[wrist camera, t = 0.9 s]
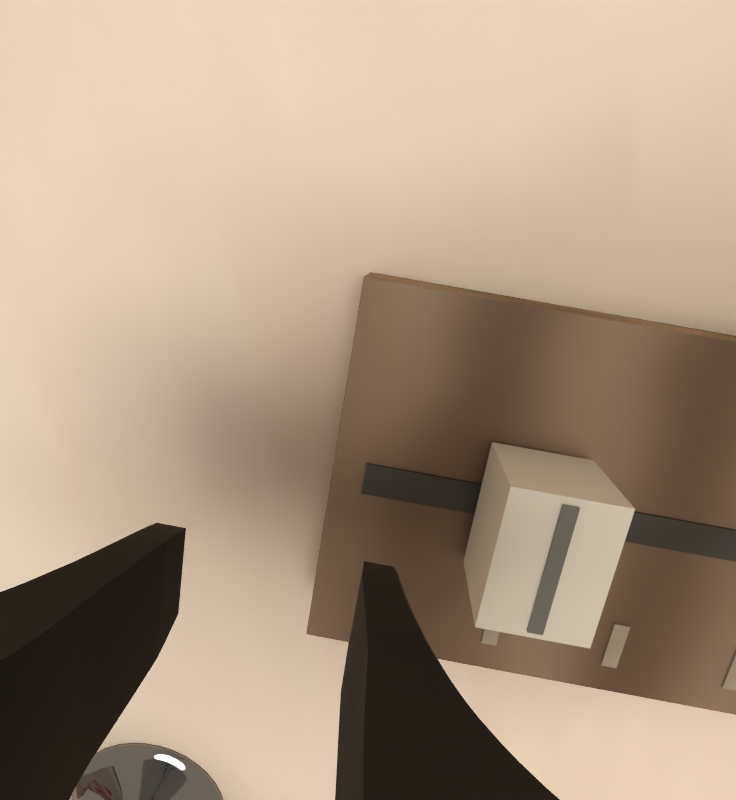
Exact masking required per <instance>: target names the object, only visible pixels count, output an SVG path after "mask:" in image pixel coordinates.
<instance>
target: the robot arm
mask: <svg viewBox="0 0 736 800" xmlns="http://www.w3.org/2000/svg"><path fill="white" fill-rule="evenodd" d="M185 531H186V528H182V527H176V526H171V525H165V524H160V523H155V524H153V525H150V526H148V527H146V528H144V529H141V530H139V531H137V532H135V533H133V534H131V535H129V536H127V537H125V538H123V539H121V540H119V541H117V542H115V543H113V544H110V545H108V546H106V547H104V548H102V549H100V550H98V551H96V552H94V553H92V554H90V555H87V556H85V557H83V558H81V559H79V560H77V561H75V562H73V563H70V564H68V565H66V566H63V567H61V568H59V569H56V570H54V571H52V572H49V573H47V574H45V575H42V576H40V577H38V578H35V579H33V580H31V581H28V582H26V583H23V584H21V585H18V586H16V587H13V588H10V589H8V590H5V591H2V592H0V800H69V798H70V797H71V795H72V793H73V791H74V789H75V787H76V785H77V783H78V782H79V780H80V778H81V777H82V775H83V773H84V772H85V770H86V768H87V767H88V765H89V763H90V761H91V760H92V758H93V757H94V755H95V754H96V752H97V750H98V749H99V747H100V746H101V744H102V743H103V741H104V740H105V738H106V737H107V735H108V733H109V732H110V730H111V729H112V727H113V726H114V724H115V723H116V721H117V720H118V718H119V717H120V715H121V713H122V712H123V710H124V709H125V707H126V706H127V704H128V703H129V701H130V700H131V698H132V696H133V695H134V693H135V692H136V690H137V689H138V687H139V686H140V684H141V682H142V681H143V679H144V678H145V676H146V675H147V673H148V671H149V670H150V668H151V667H152V665H153V663H154V662H155V660H156V659H157V657H158V655H159V653H160V651H161V649H162V647H163V645H164V643H165V641H166V639H167V637H168V634H169V632H170V630H171V628H172V626H173V624H174V621H175V619H176V617H177V615H178V610H179V599H180V587H181V576H182V565H183V553H184V542H185ZM335 800H560V799H558V798H557V797H556V796H555V795H554V794H552V793H551V792H550V791H549V790H548V789H547V788H546V787H545V786H544V785H543V784H541V783H540V782H539V781H538V780H537V779H536V778H535V777H534V776H533V775H532V774H531V773H530V772H529V771H528V770H527V769H526V768H525V767H524V766H523V765H522V764H521V763H519V762H518V761H517V759H516V758H515V757H514V756H513V755H512V754H511V753H510V752H509V751H508V750H507V749H506V748H505V747H504V746H503V745H502V744H501V743H500V742H499V741H498V739H497V738H496V737H495V736H494V735H493V734H492V733H491V731H490V730H489V729H488V728H487V727H486V726H485V725H484V723H483V722H482V721H481V720H480V719H479V718H478V717H477V715H476V714H475V713H474V712H473V710H472V709H471V708H470V707H469V705H468V704H467V703H466V701H465V700H464V699H463V697H462V696H461V695H460V693H459V692H458V690H457V689H456V688H455V686H454V685H453V683H452V682H451V680H450V679H449V677H448V676H447V674H446V672H445V671H444V669H443V668H442V666H441V664H440V663H439V661H438V659H437V658H436V656H435V654H434V653H433V651H432V649H431V647H430V645H429V644H428V642H427V640H426V638H425V636H424V634H423V632H422V630H421V628H420V626H419V624H418V622H417V620H416V618H415V616H414V614H413V612H412V609H411V607H410V605H409V603H408V600H407V598H406V595H405V593H404V590H403V588H402V585H401V582H400V579H399V575H398V572H397V571H396V569H395V568H394V567H393V566H388V565H382V564H377V563H371V562H366V561H364V564H363V569H362V575H361V580H360V586H359V591H358V596H357V602H356V607H355V612H354V618H353V623H352V629H351V634H350V639H349V645H348V651H347V657H346V664H345V670H344V676H343V683H342V689H341V701H340V719H339V738H338V757H337V776H336V796H335Z"/></svg>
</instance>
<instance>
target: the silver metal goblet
mask: <svg viewBox="0 0 736 800" xmlns="http://www.w3.org/2000/svg"><path fill="white" fill-rule="evenodd" d="M72 800H223V798H222V795H221V793H220V791H219V789H218V788H217V786H216V784H215V783H214V781H213V780H212V779H211V778H210V777H209V775H208V774H207V773H206V772H205V771H204V770H203V769H201V768H200V767H199V766H198V765H197V764H195V763H194V762H192V761H191V760H189V759H188V758H186V757H185V756H182V755H180V754H178V753H176V752H174V751H172V750H169V749H166V748H162V747H159V746H154V745H148V744H123V745H116V746H113V747H109V748H106V749H104V750H102V751H100V752H98V753H96V754H95V755H94V757H93V758H92V760H91V761H90V763H89V765H88V767H87V768H86V770H85V772H84V773H83V775H82V777H81V778H80V780H79V782H78V783H77V785H76V787H75V789H74V791H73V793H72Z"/></svg>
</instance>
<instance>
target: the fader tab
mask: <svg viewBox="0 0 736 800" xmlns="http://www.w3.org/2000/svg"><path fill="white" fill-rule="evenodd" d="M634 511H635V508H634V507H633V506H632V505H631V503H630V502H629V501H628V500H627V499H626V498H625V496H624V495H623V494H622V493H621V492H620V491H619V489H618V488H617V487H616V486H615V485H614V484H613V482H612V481H611V480H610V479H609V478H608V477H607V475H606V474H605V473H604V472H603V471H602V470H601V468H600V467H599V466H598V465H597V464H596V463H595V462H594V460H589V459H584V458H578V457H572V456H567V455H561V454H556V453H550V452H545V451H539V450H533V449H528V448H522V447H517V446H511V445H506V444H500V443H494V442H492V444H491V448H490V452H489V456H488V460H487V465H486V469H485V473H484V477H483V481H482V485H481V490H480V494H479V498H478V502H477V506H476V511H475V515H474V519H473V523H472V527H471V531H470V536H469V540H468V544H467V548H466V552H465V557H464V561H463V562H464V568H465V573H466V579H467V585H468V590H469V596H470V602H471V608H472V613H473V619H474V625H475V627H476V628H482V629H487V630H493V631H498V632H503V633H509V634H514V635H519V636H525V637H530V638H536V639H541V640H546V641H552V642H557V643H562V644H568V645H573V646H579V647H584V648H589V649H590V648H591V645H592V642H593V639H594V635H595V632H596V629H597V626H598V623H599V620H600V617H601V614H602V611H603V608H604V604H605V601H606V598H607V595H608V592H609V589H610V586H611V583H612V580H613V576H614V573H615V570H616V567H617V564H618V561H619V558H620V555H621V552H622V549H623V545H624V542H625V539H626V536H627V533H628V530H629V527H630V524H631V521H632V518H633V514H634Z"/></svg>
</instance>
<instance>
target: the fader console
mask: <svg viewBox="0 0 736 800" xmlns="http://www.w3.org/2000/svg"><path fill="white" fill-rule="evenodd" d="M492 442H494V443H500V444H506V445H511V446H517V447H522V448H528V449H533V450H539V451H545V452H550V453H556V454H561V455H567V456H572V457H578V458H584V459H589V460H594V462H595V463H596V464H597V465H598V466H599V467H600V468H601V470H602V471H603V472H604V473H605V474H606V475H607V477H608V478H609V479H610V480H611V481H612V482H613V484H614V485H615V486H616V487H617V488H618V489H619V491H620V492H621V493H622V494H623V495H624V496H625V498H626V499H627V500H628V501H629V502H630V503H631V505H632V506H633V507H634V508H635V511H634V514H633V518H632V521H631V524H630V527H629V530H628V533H627V536H626V539H625V542H624V545H623V549H622V552H621V555H620V558H619V561H618V564H617V567H616V570H615V573H614V576H613V580H612V583H611V586H610V589H609V592H608V595H607V598H606V601H605V604H604V608H603V611H602V614H601V617H600V620H599V623H598V626H597V629H596V632H595V635H594V639H593V642H592V645H591V648H590V649H589V648H584V647H579V646H573V645H568V644H562V643H557V642H552V641H546V640H541V639H536V638H530V637H525V636H519V635H514V634H509V633H503V632H498V631H493V630H487V629H482V628H476V627H475V625H474V619H473V613H472V608H471V602H470V596H469V590H468V585H467V579H466V573H465V568H464V562H463V561H464V557H465V552H466V548H467V544H468V540H469V536H470V531H471V527H472V523H473V519H474V515H475V511H476V506H477V502H478V498H479V494H480V490H481V485H482V481H483V477H484V473H485V469H486V465H487V460H488V456H489V452H490V448H491V444H492ZM364 561H366V562H371V563H377V564H382V565H388V566H393V567H394V568H395V569H396V571H397V572H398V575H399V579H400V582H401V585H402V588H403V590H404V593H405V595H406V598H407V600H408V603H409V605H410V607H411V609H412V612H413V614H414V616H415V618H416V620H417V622H418V624H419V626H420V628H421V630H422V632H423V634H424V636H425V638H426V640H427V642H428V644H429V645H430V647H431V649H432V651H433V653H434V654H435V656H436V658H437V659H442V660H448V661H453V662H458V663H464V664H469V665H474V666H480V667H485V668H490V669H496V670H501V671H506V672H512V673H517V674H522V675H528V676H533V677H538V678H544V679H549V680H554V681H560V682H565V683H570V684H576V685H581V686H586V687H592V688H597V689H602V690H608V691H613V692H618V693H624V694H629V695H634V696H640V697H645V698H650V699H656V700H661V701H667V702H672V703H677V704H683V705H688V706H693V707H699V708H704V709H709V710H715V711H720V712H725V713H731V714H736V336H732V335H727V334H721V333H715V332H709V331H704V330H698V329H692V328H686V327H681V326H675V325H669V324H663V323H658V322H652V321H646V320H641V319H635V318H629V317H623V316H618V315H612V314H606V313H600V312H595V311H589V310H583V309H577V308H572V307H566V306H560V305H554V304H549V303H543V302H537V301H531V300H526V299H520V298H514V297H508V296H503V295H497V294H491V293H486V292H480V291H474V290H468V289H463V288H457V287H451V286H445V285H440V284H434V283H428V282H422V281H417V280H411V279H405V278H399V277H394V276H388V275H382V274H376V273H371V272H370V273H369V274H368V275H367V276H365V277H364V280H363V286H362V293H361V299H360V305H359V311H358V317H357V324H356V330H355V336H354V342H353V348H352V355H351V361H350V367H349V373H348V379H347V386H346V392H345V398H344V404H343V410H342V417H341V423H340V429H339V435H338V441H337V448H336V454H335V460H334V466H333V472H332V479H331V485H330V491H329V497H328V503H327V510H326V516H325V522H324V528H323V534H322V541H321V547H320V553H319V559H318V565H317V572H316V578H315V584H314V590H313V596H312V603H311V609H310V615H309V621H308V627H307V634H309V635H314V636H320V637H325V638H330V639H336V640H341V641H346V642H349V639H350V634H351V629H352V623H353V618H354V612H355V607H356V602H357V596H358V591H359V586H360V580H361V575H362V569H363V564H364Z"/></svg>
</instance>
